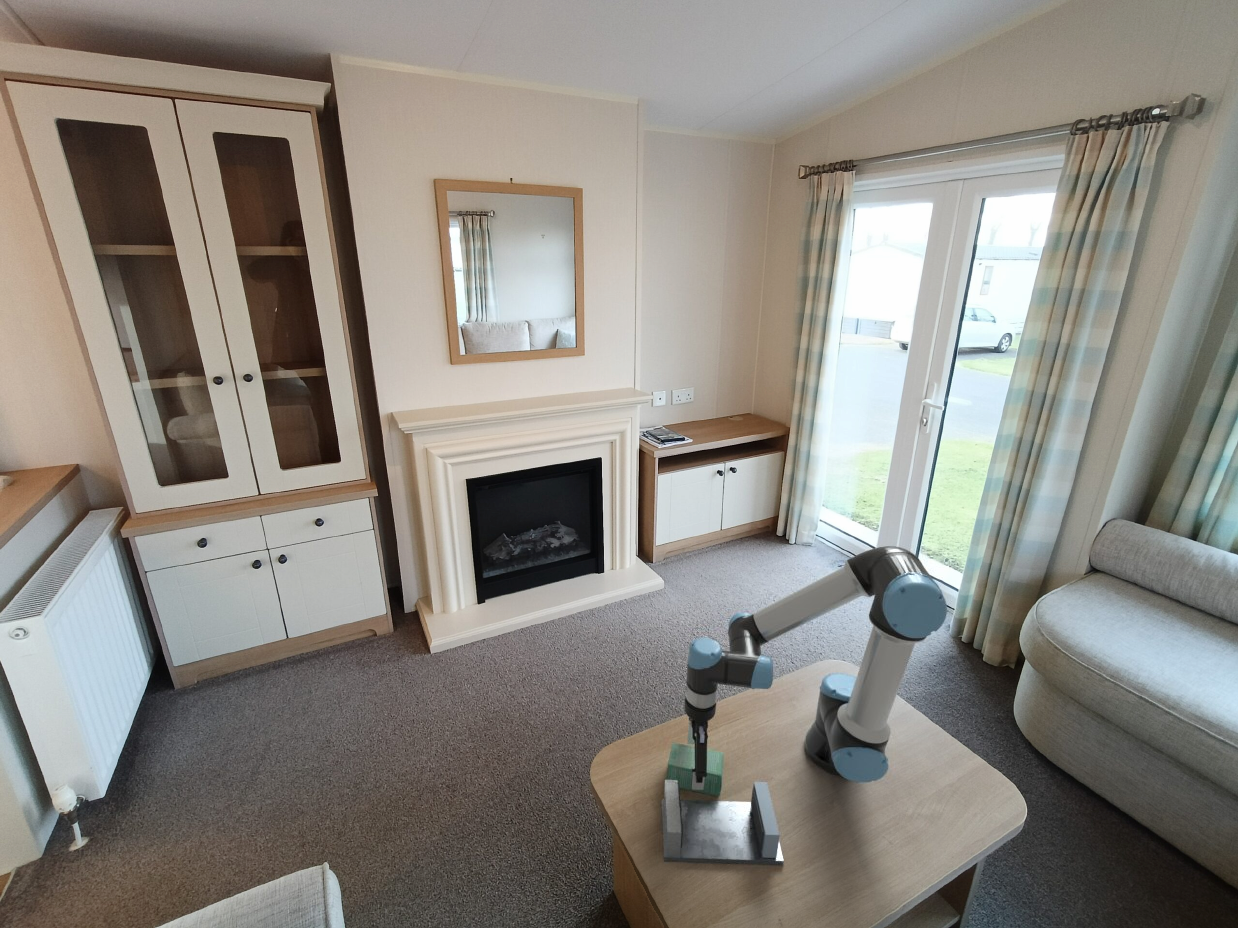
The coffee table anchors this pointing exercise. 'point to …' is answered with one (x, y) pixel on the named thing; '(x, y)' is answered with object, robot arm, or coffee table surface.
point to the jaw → (765, 820)
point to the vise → (710, 831)
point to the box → (685, 762)
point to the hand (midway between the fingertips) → (694, 764)
